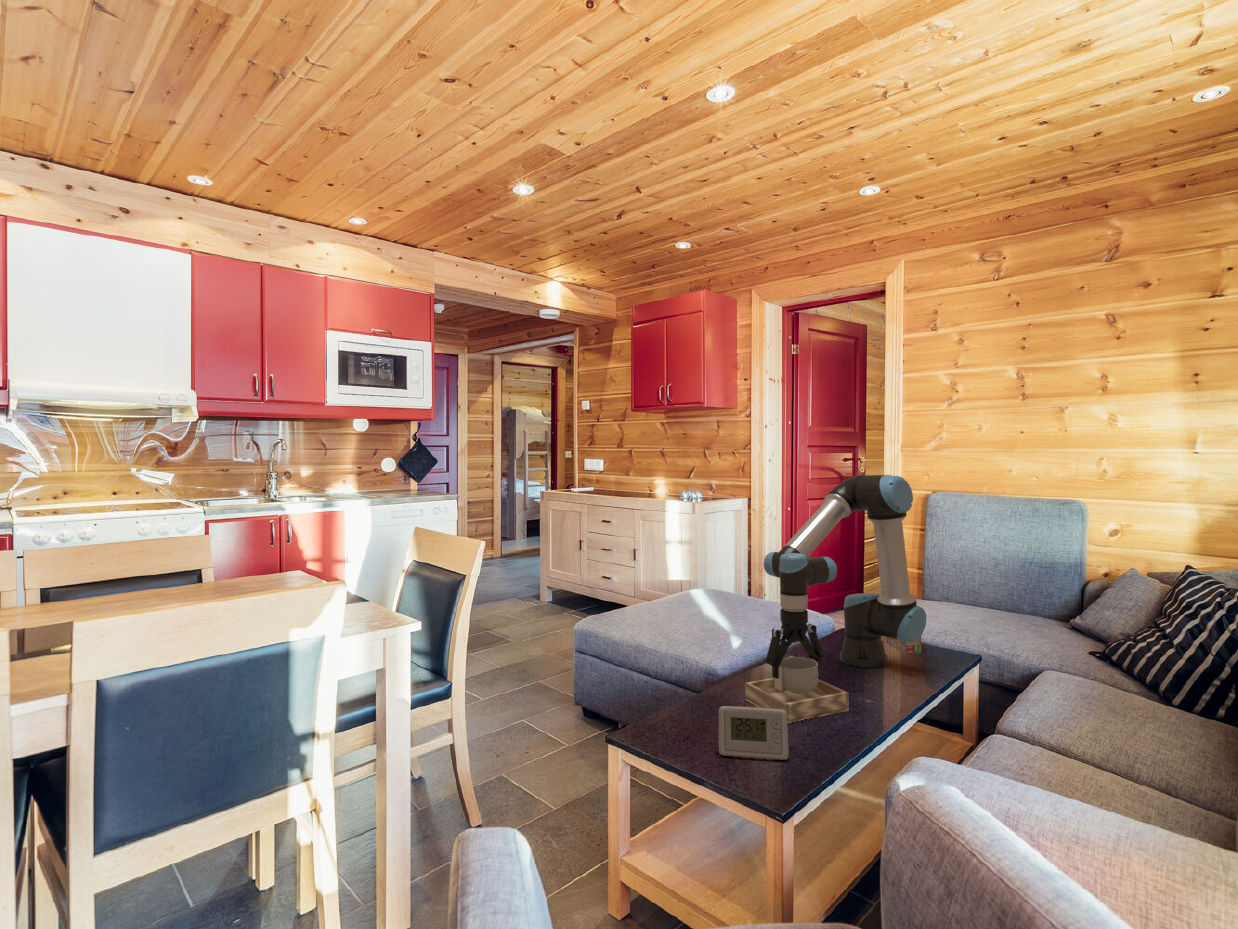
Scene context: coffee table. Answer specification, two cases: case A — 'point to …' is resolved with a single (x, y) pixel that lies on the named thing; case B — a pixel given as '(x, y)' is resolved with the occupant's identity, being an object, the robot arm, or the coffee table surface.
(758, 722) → the digital clock
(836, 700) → the walled box
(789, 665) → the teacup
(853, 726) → the coffee table surface
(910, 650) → the stack of blocks
